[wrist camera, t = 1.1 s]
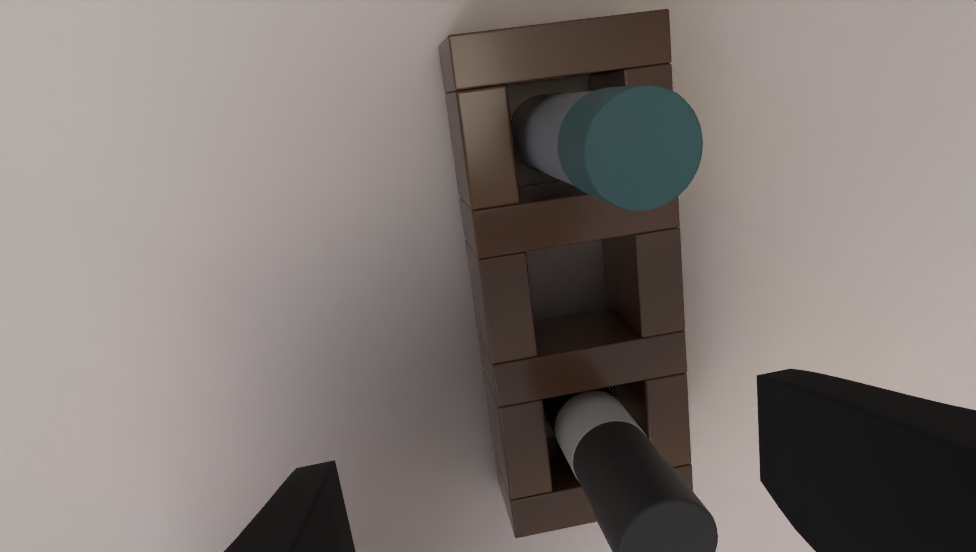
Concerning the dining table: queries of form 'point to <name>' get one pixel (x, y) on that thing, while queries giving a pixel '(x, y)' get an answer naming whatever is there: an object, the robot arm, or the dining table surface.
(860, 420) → the robot arm
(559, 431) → the black marker
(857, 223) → the dining table surface
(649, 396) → the marker stand
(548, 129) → the teal marker
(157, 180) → the dining table surface
